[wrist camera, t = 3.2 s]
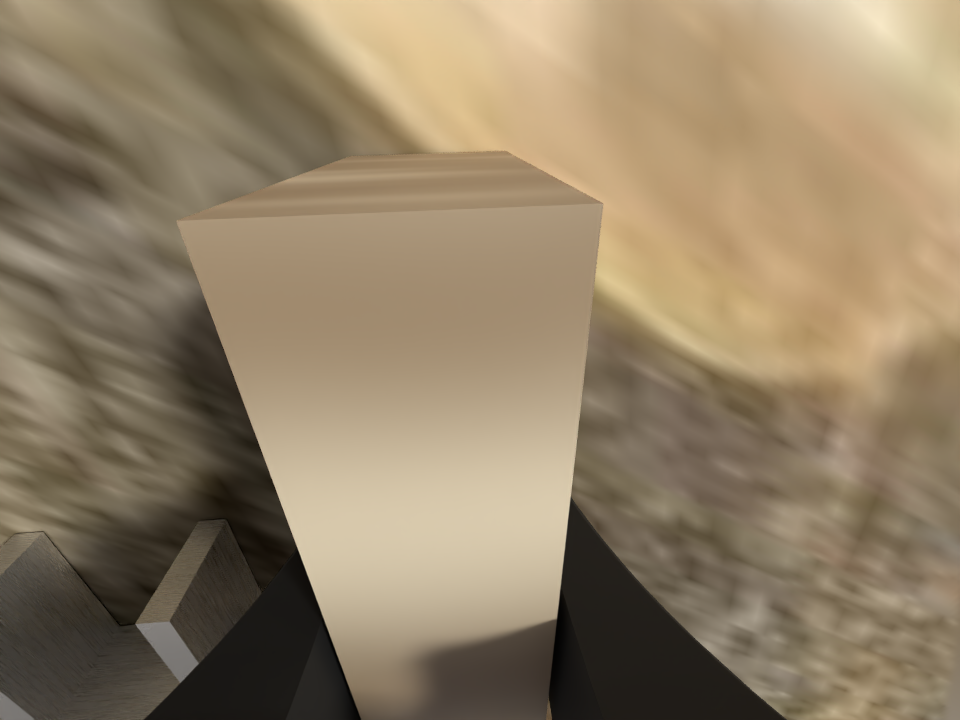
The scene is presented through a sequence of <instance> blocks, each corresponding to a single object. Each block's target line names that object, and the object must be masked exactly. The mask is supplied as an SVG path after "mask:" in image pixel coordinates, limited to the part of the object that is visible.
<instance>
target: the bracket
mask: <svg viewBox="0 0 960 720" xmlns="http://www.w3.org/2000/svg"><path fill="white" fill-rule="evenodd" d="M260 595H261V591H260V589H259V587H258V585H257V583H256V581H255V578H254V576H253V574H252V572H251V570H250V568H249V566H248V564H247V562H246V560H245V557H244V555H243V553H242V551H241V549H240V547H239V545H238V543H237V541H236V539H235V536H234V534H233V532H232V530H231V528H230V526H229V524H228V522H227V520H226V519H220V520H206V521H199V522H198V523H197V525H196V527H195V528H194V530H193V531H192V533H191V535H190V536H189V538H188V540H187V541H186V543H185V544H184V546H183V548H182V549H181V551H180V552H179V554H178V556H177V557H176V559H175V560H174V562H173V564H172V565H171V567H170V569H169V570H168V572H167V573H166V575H165V577H164V578H163V580H162V581H161V583H160V585H159V586H158V588H157V589H156V591H155V593H154V594H153V596H152V598H151V599H150V601H149V602H148V604H147V606H146V607H145V609H144V610H143V612H142V614H141V615H140V617H139V618H138V620H137V622H136V623H135V625H123V626H119V625H118V624H117V623H116V621H115V620H114V619H113V618H112V616H111V615H110V614H109V613H108V611H107V610H106V609H105V608H104V606H103V605H102V604H101V603H100V602H99V600H98V599H97V598H96V597H95V595H94V594H93V593H92V592H91V590H90V589H89V588H88V587H87V585H86V584H85V583H84V582H83V580H82V579H81V578H80V577H79V576H78V574H77V573H76V572H75V571H74V569H73V568H72V567H71V566H70V564H69V563H68V562H67V561H66V559H65V558H64V557H63V556H62V555H61V553H60V552H59V551H58V550H57V548H56V547H55V546H54V545H53V543H52V542H51V541H50V540H49V538H48V537H47V536H46V535H45V534H44V532H35V533H21V534H14V535H13V536H12V537H11V538H10V539H9V540H8V541H7V542H6V543H5V544H4V545H3V546H2V547H1V548H0V720H143V719H145V718H146V717H147V716H148V715H149V714H150V713H151V712H152V711H153V710H154V709H155V708H156V707H157V706H158V705H159V704H160V703H161V702H162V701H163V700H164V699H165V698H166V697H167V696H168V695H169V694H170V693H171V692H172V691H173V690H174V689H175V688H176V687H177V686H178V685H179V684H180V683H181V682H182V681H183V680H184V679H185V678H186V677H187V675H188V674H189V673H190V672H191V671H192V670H193V669H194V668H195V667H196V666H197V665H198V664H199V663H200V662H201V661H202V660H203V659H204V658H205V657H206V656H207V654H208V653H209V652H210V651H211V650H212V649H213V648H214V647H215V646H216V645H217V644H218V643H219V642H220V641H221V639H222V638H223V637H224V636H225V635H226V634H227V633H228V632H229V631H230V629H231V628H232V627H233V626H234V625H235V624H236V623H237V622H238V620H239V619H240V618H241V617H242V616H243V615H244V614H245V612H246V611H247V610H248V609H249V608H250V607H251V605H252V604H253V603H254V602H255V601H256V599H257V598H258V597H259V596H260Z"/></svg>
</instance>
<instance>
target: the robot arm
mask: <svg viewBox="0 0 960 720" xmlns="http://www.w3.org/2000/svg"><path fill="white" fill-rule="evenodd" d="M549 701H550V708H551V714H552V720H786V719H785V718H784V717H783V716H782V715H780V714H779V713H778V712H777V711H776V710H774V709H773V708H772V707H771V706H770V705H768V704H767V703H766V702H765V701H764V700H763V699H761V698H760V697H759V696H758V695H757V694H755V693H754V692H753V691H752V690H751V689H750V688H749V687H748V686H746V685H745V684H744V683H743V682H742V681H741V680H740V679H739V678H738V677H737V676H735V675H734V674H733V673H732V672H731V671H730V670H729V669H728V668H727V667H726V666H724V665H723V664H722V663H721V662H720V661H719V660H718V659H717V658H716V657H714V656H713V655H712V654H711V653H710V652H709V651H708V650H707V649H706V648H705V647H703V646H702V645H701V644H700V643H699V642H698V641H697V640H696V639H695V638H694V637H693V636H692V635H691V634H690V633H689V632H688V631H687V630H686V629H684V628H683V627H682V626H681V625H680V624H679V623H678V622H677V621H676V620H675V619H674V618H673V617H672V616H671V615H670V614H669V613H668V612H667V611H666V610H665V609H664V608H663V607H662V606H661V604H660V603H659V602H658V601H657V600H656V599H655V598H654V597H653V596H652V595H651V594H650V593H649V592H648V591H647V590H646V589H645V588H644V587H643V586H642V584H641V583H640V582H639V581H638V580H637V579H636V578H635V577H634V576H633V574H632V573H631V572H630V571H629V570H628V569H627V568H626V567H625V565H624V564H623V563H622V562H621V561H620V559H619V558H618V557H617V556H616V555H615V554H614V552H613V551H612V550H611V549H610V548H609V546H608V545H607V544H606V543H605V542H604V540H603V539H602V538H601V537H600V535H599V534H598V533H597V532H596V530H595V529H594V528H593V526H592V525H591V524H590V522H589V521H588V520H587V518H586V517H585V516H584V514H583V513H582V512H581V510H580V509H579V508H578V506H577V505H576V504H575V502H574V501H573V499H572V498H571V497H570V506H569V515H568V524H567V533H566V542H565V551H564V560H563V569H562V578H561V587H560V596H559V605H558V614H557V623H556V632H555V641H554V650H553V659H552V668H551V677H550V686H549ZM143 720H361V718H360V715H359V712H358V709H357V707H356V704H355V701H354V699H353V696H352V693H351V691H350V688H349V685H348V683H347V680H346V677H345V674H344V672H343V669H342V666H341V664H340V661H339V658H338V656H337V653H336V650H335V647H334V645H333V642H332V639H331V637H330V634H329V631H328V629H327V626H326V623H325V621H324V618H323V615H322V612H321V610H320V607H319V604H318V602H317V599H316V596H315V594H314V591H313V588H312V586H311V583H310V580H309V577H308V575H307V572H306V569H305V567H304V564H303V561H302V559H301V556H300V553H299V550H298V548H297V549H296V550H295V551H294V553H293V554H292V555H291V557H290V558H289V559H288V560H287V562H286V563H285V564H284V566H283V567H282V568H281V569H280V571H279V572H278V573H277V575H276V576H275V577H274V578H273V580H272V581H271V582H270V583H269V585H268V586H267V587H266V589H265V590H264V591H263V592H262V593H261V595H260V596H259V597H258V598H257V599H256V601H255V602H254V603H253V604H252V605H251V607H250V608H249V609H248V610H247V611H246V612H245V614H244V615H243V616H242V617H241V618H240V619H239V620H238V622H237V623H236V624H235V625H234V626H233V627H232V628H231V629H230V631H229V632H228V633H227V634H226V635H225V636H224V637H223V638H222V639H221V641H220V642H219V643H218V644H217V645H216V646H215V647H214V648H213V649H212V650H211V651H210V652H209V653H208V654H207V656H206V657H205V658H204V659H203V660H202V661H201V662H200V663H199V664H198V665H197V666H196V667H195V668H194V669H193V670H192V671H191V672H190V673H189V674H188V675H187V677H186V678H185V679H184V680H183V681H182V682H181V683H180V684H179V685H178V686H177V687H176V688H175V689H174V690H173V691H172V692H171V693H170V694H169V695H168V696H167V697H166V698H165V699H164V700H163V701H162V702H161V703H160V704H159V705H158V706H157V707H156V708H155V709H154V710H153V711H152V712H151V713H150V714H149V715H148V716H147V717H146V718H145V719H143Z"/></svg>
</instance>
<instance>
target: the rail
mask: <svg viewBox="0 0 960 720" xmlns="http://www.w3.org/2000/svg"><path fill="white" fill-rule="evenodd" d="M602 210H603V203H601V202H600V201H598V200H596V199H594V198H592V197H590V196H588V195H587V194H585V193H583V192H581V191H579V190H577V189H575V188H574V187H572V186H570V185H568V184H566V183H564V182H562V181H561V180H559V179H557V178H555V177H553V176H551V175H549V174H548V173H546V172H544V171H542V170H540V169H538V168H536V167H535V166H533V165H531V164H529V163H527V162H525V161H523V160H522V159H520V158H518V157H516V156H514V155H512V154H510V153H509V152H507V151H486V152H457V153H428V154H399V155H370V156H349V157H347V158H344V159H341V160H339V161H336V162H333V163H331V164H328V165H325V166H323V167H320V168H317V169H314V170H312V171H309V172H306V173H304V174H301V175H298V176H296V177H293V178H290V179H287V180H285V181H282V182H279V183H277V184H274V185H271V186H269V187H266V188H263V189H260V190H258V191H255V192H252V193H250V194H247V195H244V196H242V197H239V198H236V199H234V200H231V201H228V202H225V203H223V204H220V205H217V206H215V207H212V208H209V209H207V210H204V211H201V212H198V213H196V214H193V215H190V216H188V217H185V218H182V219H180V220H177V221H176V222H177V224H178V227H179V230H180V233H181V235H182V238H183V241H184V243H185V246H186V249H187V251H188V254H189V257H190V259H191V262H192V265H193V268H194V270H195V273H196V276H197V278H198V281H199V284H200V286H201V289H202V292H203V295H204V297H205V300H206V303H207V305H208V308H209V311H210V313H211V316H212V319H213V321H214V324H215V327H216V330H217V332H218V335H219V338H220V340H221V343H222V346H223V348H224V351H225V354H226V356H227V359H228V362H229V365H230V367H231V370H232V373H233V375H234V378H235V381H236V383H237V386H238V389H239V392H240V394H241V397H242V400H243V402H244V405H245V408H246V410H247V413H248V416H249V418H250V421H251V424H252V427H253V429H254V432H255V435H256V437H257V440H258V443H259V445H260V448H261V451H262V453H263V456H264V459H265V462H266V464H267V467H268V470H269V472H270V475H271V478H272V480H273V483H274V486H275V489H276V491H277V494H278V497H279V499H280V502H281V505H282V507H283V510H284V513H285V515H286V518H287V521H288V524H289V526H290V529H291V532H292V534H293V537H294V540H295V542H296V545H297V548H298V550H299V553H300V556H301V559H302V561H303V564H304V567H305V569H306V572H307V575H308V577H309V580H310V583H311V586H312V588H313V591H314V594H315V596H316V599H317V602H318V604H319V607H320V610H321V612H322V615H323V618H324V621H325V623H326V626H327V629H328V631H329V634H330V637H331V639H332V642H333V645H334V647H335V650H336V653H337V656H338V658H339V661H340V664H341V666H342V669H343V672H344V674H345V677H346V680H347V683H348V685H349V688H350V691H351V693H352V696H353V699H354V701H355V704H356V707H357V709H358V712H359V715H360V718H361V720H546V713H547V704H548V695H549V686H550V677H551V668H552V659H553V650H554V641H555V632H556V623H557V614H558V605H559V596H560V587H561V578H562V569H563V560H564V551H565V542H566V533H567V524H568V515H569V506H570V497H571V488H572V479H573V470H574V462H575V453H576V444H577V435H578V426H579V417H580V408H581V399H582V390H583V381H584V372H585V363H586V354H587V345H588V336H589V327H590V318H591V309H592V300H593V291H594V282H595V273H596V264H597V255H598V246H599V237H600V228H601V219H602Z"/></svg>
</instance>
